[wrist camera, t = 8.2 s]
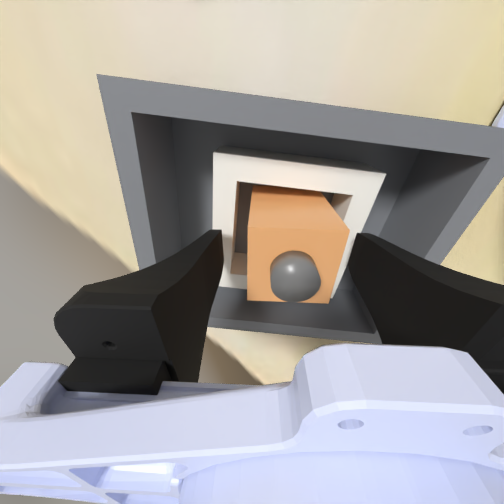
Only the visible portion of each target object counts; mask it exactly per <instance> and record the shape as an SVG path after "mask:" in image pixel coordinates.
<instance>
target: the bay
mask: <svg viewBox="0 0 504 504" xmlns="http://www.w3.org/2000/svg"><path fill="white" fill-rule="evenodd" d="M97 79H98V83H99V88H100V92H101V97H102V102H103V106H104V111H105V115H106V120H107V124H108V129H109V133H110V138H111V143H112V147H113V152H114V156H115V161H116V165H117V170H118V174H119V179H120V184H121V188H122V193H123V197H124V202H125V206H126V211H127V215H128V220H129V225H130V229H131V234H132V238H133V243H134V247H135V252H136V256H137V261H138V266H139V270H142V269H144V268H146V267H149V266H151V265H154V264H156V263H158V262H160V261H162V260H164V259H166V258H168V257H170V256H172V255H174V254H176V253H177V252H179V251H180V250H182V249H183V248H185V247H187V246H188V245H190V244H191V243H192V242H194V241H195V240H196V239H198V238H199V237H201V236H202V235H203V234H205V233H206V232H207V231H209V230H210V229H216V230H222V240H223V253H224V265H223V271H222V276H221V280H220V283H219V286H218V289H217V292H216V296H215V299H214V302H213V305H212V308H211V312H210V316H209V321H208V326H207V327H214V328H224V329H234V330H244V331H254V332H264V333H274V334H283V335H293V336H303V337H313V338H323V339H333V340H343V341H353V342H363V343H373V344H382V341H381V338H380V336H379V333H378V331H377V328H376V325H375V323H374V321H373V318H372V316H371V314H370V312H369V310H368V308H367V307H366V305H365V303H364V301H363V299H362V297H361V295H360V293H359V291H358V290H357V288H356V286H355V284H354V282H353V280H352V277H351V274H350V271H349V268H348V265H347V264H348V260H349V257H350V254H351V250H352V247H353V244H354V240H355V237H356V234H357V233H370V234H373V235H375V236H378V237H380V238H382V239H384V240H386V241H388V242H390V243H392V244H394V245H396V246H398V247H400V248H402V249H404V250H406V251H409V252H411V253H413V254H415V255H417V256H419V257H422V258H424V259H426V260H428V261H431V262H433V263H436V264H438V265H440V264H441V263H442V261H443V260H444V259H445V257H446V256H447V254H448V253H449V252H450V250H451V249H452V247H453V246H454V245H455V243H456V242H457V241H458V239H459V238H460V236H461V235H462V234H463V232H464V231H465V229H466V228H467V227H468V225H469V224H470V223H471V221H472V220H473V218H474V217H475V216H476V214H477V213H478V211H479V210H480V209H481V207H482V206H483V205H484V203H485V202H486V200H487V199H488V198H489V196H490V195H491V193H492V192H493V191H494V189H495V188H496V187H497V185H498V184H499V182H500V181H501V180H502V178H503V177H504V128H500V127H492V126H484V125H477V124H469V123H462V122H454V121H447V120H439V119H432V118H424V117H417V116H409V115H402V114H394V113H386V112H379V111H371V110H364V109H356V108H349V107H341V106H334V105H326V104H319V103H311V102H303V101H296V100H288V99H281V98H273V97H266V96H258V95H251V94H243V93H236V92H228V91H220V90H213V89H205V88H198V87H190V86H183V85H175V84H168V83H160V82H153V81H145V80H138V79H130V78H122V77H115V76H107V75H100V74H97ZM253 185H272V186H282V187H290V188H298V189H306V190H315V191H320V192H321V193H322V194H323V196H324V197H325V198H326V200H327V201H328V202H329V203H330V205H331V206H332V207H333V209H334V210H335V211H336V213H337V214H338V215H339V217H340V218H341V219H342V220H343V222H344V223H345V224H346V226H347V227H348V228H349V230H350V233H349V236H348V240H347V243H346V246H345V250H344V253H343V256H342V260H341V263H340V267H339V270H338V273H337V277H336V280H335V284H334V287H333V290H332V294H331V297H330V300H329V304H327V303H302V302H276V301H251V300H247V253H248V221H249V212H250V204H251V195H252V187H253Z"/></svg>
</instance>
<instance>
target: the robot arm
mask: <svg viewBox="0 0 504 504" xmlns="http://www.w3.org/2000/svg"><path fill="white" fill-rule="evenodd" d="M492 127H500V128H504V105H503V107H502V109H501V110H500V112H499V114H498V115H497V117H496V118H495V120H494V122H493V124H492ZM223 265H224V253H223V240H222V230H216V229H210V230H209V231H207V232H206V233H205V234H203V235H202V236H201V237H199V238H198V239H196V240H195V241H194V242H192V243H191V244H190V245H188V246H187V247H185V248H183V249H182V250H180V251H179V252H177V253H176V254H174V255H172V256H170V257H168V258H166V259H164V260H162V261H160V262H158V263H156V264H154V265H151V266H149V267H146V268H144V269H142V270H139V271H136V272H133V273H130V274H127V275H124V276H121V277H117V278H114V279H110V280H106V281H102V282H98V283H94V284H89V285H85V286H83V287H82V288H81V289H80V290H79V291H78V292H77V293H76V294H75V295H74V296H73V297H72V298H71V299H70V300H69V301H68V302H67V303H66V304H65V305H64V306H63V307H62V308H61V309H60V310H59V311H57V312H56V314H55V317H54V325H55V329H56V330H57V332H58V334H59V336H60V337H61V338H62V340H63V341H64V342H65V344H66V345H67V346H68V347H69V349H70V350H71V351H72V353H73V354H74V355H75V357H76V358H75V359H74V361H73V362H72V363H71V365H70V366H69V367H68V366H66V365H64V364H60V363H50V362H25V363H23V364H22V365H21V366H20V367H19V368H18V369H17V370H16V371H15V372H14V374H13V375H11V377H10V378H9V379H8V380H7V381H6V382H5V383H4V384H3V385H2V386H1V387H0V494H13V495H26V496H38V497H48V498H59V499H67V500H77V501H85V502H93V503H102V504H504V285H501V284H497V283H493V282H490V281H486V280H483V279H480V278H476V277H473V276H470V275H467V274H463V273H460V272H457V271H455V270H452V269H449V268H446V267H444V266H441V265H438V264H436V263H433V262H431V261H428V260H426V259H424V258H422V257H419V256H417V255H415V254H413V253H411V252H409V251H406V250H404V249H402V248H400V247H398V246H396V245H394V244H392V243H390V242H388V241H386V240H384V239H382V238H380V237H378V236H375V235H373V234H370V233H357V234H356V237H355V240H354V244H353V247H352V250H351V254H350V257H349V260H348V264H347V265H348V268H349V271H350V274H351V277H352V280H353V282H354V284H355V286H356V288H357V290H358V291H359V293H360V295H361V297H362V299H363V301H364V303H365V305H366V307H367V308H368V310H369V312H370V314H371V316H372V318H373V321H374V323H375V325H376V328H377V331H378V333H379V336H380V338H381V341H382V344H359V343H338V344H330V345H322V346H320V347H318V348H316V349H314V350H312V351H310V352H307V353H306V354H305V355H304V356H303V357H302V358H301V360H300V361H299V363H298V364H297V365H296V367H295V371H294V376H293V380H292V381H290V382H282V383H275V384H268V385H238V384H216V383H198V379H199V371H200V365H201V360H202V353H203V348H204V342H205V337H206V331H207V326H208V321H209V316H210V312H211V308H212V305H213V302H214V299H215V296H216V292H217V289H218V286H219V283H220V280H221V276H222V271H223Z"/></svg>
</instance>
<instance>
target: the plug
mask: <svg viewBox="0 0 504 504" xmlns="http://www.w3.org/2000/svg"><path fill="white" fill-rule="evenodd" d="M349 233H350V230H349V228H348V227H347V226H346V224H345V223H344V222H343V220H342V219H341V218H340V217H339V215H338V214H337V213H336V211H335V210H334V209H333V207H332V206H331V205H330V203H329V202H328V201H327V200H326V198H325V197H324V196H323V194H322V193H321V192H320V191H315V190H306V189H298V188H290V187H282V186H272V185H253V187H252V195H251V204H250V212H249V221H248V253H247V300H251V301H276V302H302V303H327V304H329V300H330V297H331V294H332V290H333V287H334V284H335V280H336V277H337V273H338V270H339V267H340V263H341V260H342V256H343V253H344V250H345V246H346V243H347V240H348V236H349Z"/></svg>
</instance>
